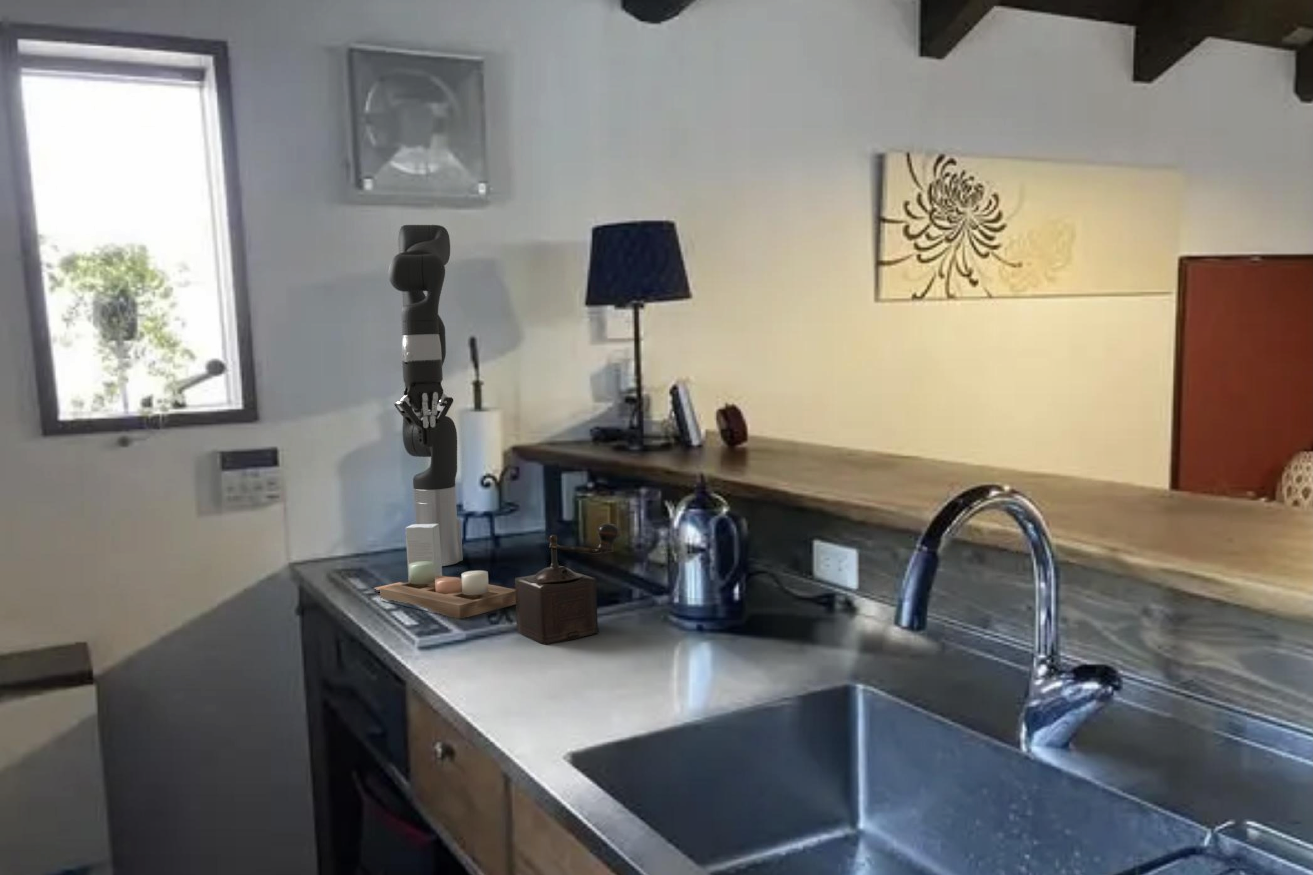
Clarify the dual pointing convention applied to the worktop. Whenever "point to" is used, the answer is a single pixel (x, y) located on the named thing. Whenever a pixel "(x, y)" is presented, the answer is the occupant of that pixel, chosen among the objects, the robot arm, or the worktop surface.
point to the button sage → (422, 572)
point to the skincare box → (424, 545)
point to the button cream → (475, 582)
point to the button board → (450, 598)
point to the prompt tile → (387, 585)
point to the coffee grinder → (561, 596)
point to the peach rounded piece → (448, 585)
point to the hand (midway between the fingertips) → (426, 446)
